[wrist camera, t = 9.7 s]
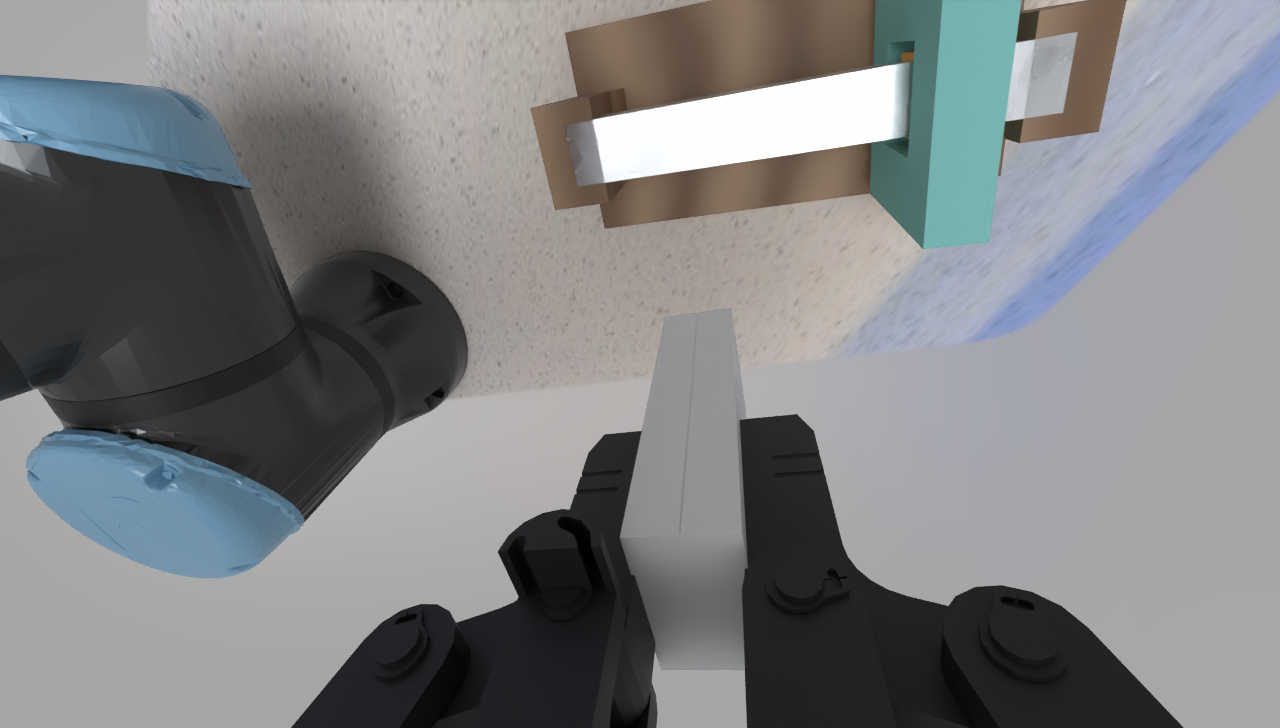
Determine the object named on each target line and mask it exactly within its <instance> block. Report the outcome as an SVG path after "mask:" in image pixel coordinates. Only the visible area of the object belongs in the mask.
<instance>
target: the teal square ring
mask: <svg viewBox="0 0 1280 728" xmlns="http://www.w3.org/2000/svg"><path fill="white" fill-rule="evenodd" d="M1021 1H1022V0H875V31H874V65H877V64H883V63H888V62H894V61H899V60H901V53H903V52H908V51H913V50H914V62H913V79H912V96H911V113H910V130H909V139H908V138H906V137H901V138H894V139H888V140H881V141H875V142H871V171H870V194H871V195H872V196H873V197H874V198H875V199H876V200H877V201H878V202H879V203H880V204H881V205H882V206H883V207H884V208H885V209H886V210H887V211H888V213H889V214H890V215H891V216H892V217H893V218H894V219H895V220H896V221H897V222H898V223H899V224H900V225H901V226H902V227H903V228H904V229H905V230H906V231H907V233H908V234H909V235H910V236H911V237H912V238H913V239H914V240H915V241H916V242H917V243H918V244H919V245H920V246H921V247H922V248H923V249H929V248H938V247H947V246H956V245H965V244H975V243H984V242H989V237H990V230H991V222H992V215H993V208H994V200H995V193H996V185H997V178H998V171H999V163H1000V156H1001V149H1002V141H1003V134H1004V126H1005V119H1006V112H1007V104H1008V97H1009V90H1010V82H1011V75H1012V67H1013V60H1014V53H1015V45H1016V38H1017V31H1018V23H1019V16H1020V8H1021Z"/></svg>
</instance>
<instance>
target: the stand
mask: <svg viewBox="0 0 1280 728" xmlns="http://www.w3.org/2000/svg"><path fill="white" fill-rule="evenodd" d="M1125 4H1126V0H1087V1H1081V2H1075V3H1068V4H1062V5H1056V6H1050V7H1044V8H1038V9H1032V10H1025V11H1023V7H1024V0H1022V1H1021V8H1020V16H1019V23H1018V31H1017V38H1016V41H1018V40H1039V39H1040V40H1041V38H1046V39H1047V37H1052V36H1053V37H1052V38H1053V39H1054V36H1057V35H1063V34H1068V33H1069V34H1071V33H1074V32H1076V33H1077V32H1078V33H1077V38H1076V37H1075V38H1076V41H1075V40H1073V42H1074V41H1075V43H1076V44H1075V49H1074V55H1073V60H1072V61H1071V62H1072V66H1071V71H1070V76H1069V82H1068V88H1067V94H1066V97H1065V98H1066V99H1065V105H1064V110H1063V111H1062V112H1063V113H1058V114H1056V113H1055V114H1051V115H1049V114H1048V115H1045V116H1038V117H1035V116H1034V117H1032V114H1031V117H1032V118H1028V117H1025V115H1024V117H1025V119H1019V120H1012V121H1005V126H1004V134H1003V141H1002V149H1001V156H1000V163H999V171H998V176H1000V174H1001V167H1002V160H1003V153H1004V145H1005V139H1008V140H1011V141H1015V142H1018V143H1024V142H1031V141H1038V140H1045V139H1052V138H1059V137H1066V136H1073V135H1079V134H1086V133H1093V132H1098V131H1099V127H1100V122H1101V117H1102V112H1103V108H1104V103H1105V98H1106V94H1107V89H1108V84H1109V80H1110V75H1111V70H1112V65H1113V61H1114V56H1115V51H1116V47H1117V42H1118V37H1119V32H1120V28H1121V23H1122V18H1123V14H1124V9H1125ZM874 31H875V0H712V1H707V2H703V3H698V4H694V5H689V6H685V7H680V8H676V9H671V10H667V11H662V12H658V13H653V14H649V15H644V16H640V17H635V18H631V19H626V20H622V21H617V22H612V23H608V24H603V25H599V26H594V27H590V28H585V29H581V30H576V31H572V32H567V33H565V35H566V40H567V45H568V50H569V55H570V60H571V65H572V70H573V75H574V80H575V85H576V89H577V94H578V97H575V98H571V99H566V100H562V101H558V102H554V103H550V104H546V105H542V106H538V107H534V108H531V112H532V117H533V121H534V125H535V129H536V133H537V137H538V141H539V145H540V149H541V154H542V158H543V162H544V166H545V170H546V174H547V178H548V182H549V186H550V191H551V195H552V199H553V203H554V207H555V210H560V209H567V208H574V207H581V206H588V205H595V204H600V207H601V212H602V217H603V222H604V227H605V228H613V227H620V226H628V225H635V224H643V223H650V222H658V221H665V220H673V219H680V218H688V217H695V216H703V215H710V214H718V213H725V212H733V211H740V210H748V209H755V208H763V207H770V206H778V205H785V204H793V203H800V202H808V201H815V200H823V199H830V198H838V197H845V196H853V195H860V194H868V193H870V171H871V142H868V143H862V144H855V145H849V146H842V147H836V148H829V149H823V150H816V151H810V152H803V153H797V154H790V155H783V156H777V157H770V158H764V159H757V160H751V161H744V162H738V163H731V164H725V165H718V166H712V167H705V168H699V169H692V170H686V171H679V172H672V173H666V174H659V175H653V176H646V177H640V178H633V179H627V180H620V181H614V182H607V183H601V184H596V183H595V182H594V181H599V180H598V178H597V180H596V178H595V179H594V178H593V176H595V174H596V173H593V172H594V171H593V172H591V171H590V172H591V173H593V174H594V175H592V174H591V176H592V178H593V179H591V177H590V178H589V179H591V181H593V180H594V181H593V182H592V183H591V184H589V182H588V184H589V185H588V184H587V183H586V182H587V181H586V180H585V179H584V178H583V177H582V176H580V175H582V173H584V172H585V171H586V170H585V168H583V170H582V171H584V170H585V171H584V172H578V170H577V172H578V174H579V175H578V174H577V173H576V174H577V175H578V176H580V177H582V179H583V180H582V181H581V183H582V182H585V181H586V182H585V183H586V184H587V185H588V186H582V184H583V183H582V184H578V185H577V182H576V179H577V177H578V176H575V173H574V171H575V170H574V169H578V168H577V167H579V169H580V165H581V164H583V165H584V163H581V162H580V165H578V166H576V168H574V167H575V165H574V164H572V160H574V159H573V158H575V157H574V156H576V155H575V154H576V152H575V151H576V150H575V149H576V148H578V147H577V145H578V144H580V146H581V145H582V144H581V143H582V141H581V140H583V139H584V137H583V136H582V137H583V139H581V140H580V139H579V138H578V140H580V141H581V143H580V142H579V141H578V140H577V139H576V138H575V137H574V135H573V136H572V135H571V133H572V132H571V130H570V133H569V132H568V134H570V136H571V137H572V138H573V137H574V139H576V140H572V138H571V137H570V138H571V140H570V139H569V140H567V138H568V137H569V136H568V137H567V135H568V134H567V135H566V133H567V131H568V130H569V129H568V130H566V126H568V124H569V126H570V124H572V126H571V127H572V131H573V129H574V128H573V126H574V127H575V125H573V123H576V125H577V126H578V129H579V127H580V125H582V126H584V127H586V126H587V122H586V121H590V120H593V119H596V118H598V117H601V116H603V115H605V114H609V113H615V112H620V111H626V110H631V109H637V108H642V107H648V106H653V105H659V104H664V103H670V102H675V101H681V100H686V99H692V98H697V97H702V96H708V95H713V94H719V93H724V92H730V91H735V90H741V89H746V88H752V87H757V86H763V85H768V84H774V83H779V82H784V81H790V80H795V79H801V78H806V77H812V76H817V75H823V74H828V73H834V72H839V71H845V70H850V69H856V68H861V67H867V66H872V65H874ZM1069 34H1068V35H1069ZM1070 36H1071V35H1070ZM1073 36H1074V35H1073ZM1064 37H1065V35H1064ZM1066 37H1068V36H1067V35H1066ZM1071 37H1072V36H1071ZM1061 38H1063V36H1061ZM1063 39H1064V38H1063ZM1051 40H1052V39H1051ZM1054 40H1055V39H1054ZM1060 40H1062V39H1060ZM1046 41H1047V40H1046ZM1046 41H1045V42H1046ZM1071 41H1072V40H1071ZM1071 41H1070V42H1071ZM1050 42H1051V41H1050ZM1054 42H1055V41H1054ZM1056 42H1057V40H1056ZM1048 43H1049V42H1048ZM1058 43H1059V42H1058ZM1067 43H1068V42H1067ZM1035 44H1036V41H1035ZM1039 44H1040V43H1039ZM1043 44H1044V43H1043ZM1043 44H1041V45H1043ZM1056 44H1057V43H1056ZM1059 44H1060V43H1059ZM1050 45H1051V43H1050ZM1054 45H1055V44H1054ZM1057 45H1058V44H1057ZM1057 45H1056V46H1057ZM1069 45H1070V43H1069ZM1069 45H1068V46H1069ZM1035 46H1036V45H1035ZM1052 46H1053V45H1052ZM1056 46H1055V49H1056ZM1060 46H1061V45H1060ZM1043 47H1044V45H1043ZM1066 47H1067V46H1066ZM1049 49H1050V48H1049ZM1052 49H1053V50H1054V48H1052ZM1052 49H1051V51H1052ZM1057 49H1058V48H1057ZM1064 49H1065V48H1064ZM1071 49H1072V47H1071ZM1035 50H1038V49H1037V48H1036V49H1035ZM1039 50H1040V49H1039ZM1039 50H1038V51H1039ZM1060 50H1061V49H1060ZM1058 51H1059V50H1058ZM1063 51H1064V50H1063ZM1071 51H1073V50H1071ZM1044 52H1045V51H1044ZM1065 52H1066V51H1065ZM1034 53H1035V51H1034ZM1034 53H1033V55H1034ZM1041 53H1042V52H1041ZM1045 53H1049V52H1048V51H1046V52H1045ZM1051 53H1052V52H1051ZM1053 53H1054V52H1053ZM1057 53H1059V52H1057ZM1060 53H1061V52H1060ZM1070 53H1071V52H1070ZM1055 54H1056V51H1055ZM1067 54H1069V53H1067ZM1043 55H1044V56H1045V54H1043ZM1040 56H1042V55H1040ZM1056 56H1057V54H1056ZM1058 56H1059V55H1058ZM1066 56H1068V55H1066ZM1038 57H1039V56H1038ZM1048 57H1049V55H1048ZM1063 57H1064V55H1063ZM1068 57H1069V56H1068ZM1040 58H1041V57H1040ZM1042 58H1043V57H1042ZM1049 58H1050V57H1049ZM1053 58H1054V57H1053ZM1038 59H1039V58H1038ZM1038 59H1036V60H1035V61H1036V62H1038ZM1044 59H1045V58H1044ZM1060 59H1061V58H1060ZM1032 60H1033V59H1032ZM1049 60H1050V59H1049ZM1049 60H1048V61H1047V62H1050V61H1051V60H1053V59H1051V60H1050V61H1049ZM1053 61H1054V60H1053ZM1057 61H1058V60H1057ZM1047 62H1045V63H1047ZM1058 62H1059V61H1058ZM1058 62H1057V63H1058ZM1069 62H1070V61H1069ZM1039 63H1040V62H1039ZM1040 64H1041V63H1040ZM1047 64H1048V63H1047ZM1055 64H1056V63H1055ZM1066 64H1067V62H1066ZM1070 64H1071V63H1070ZM1042 65H1043V64H1041V66H1042ZM1048 65H1049V64H1048ZM1058 65H1059V64H1058ZM1067 65H1069V64H1067ZM1031 66H1033V63H1032V65H1031ZM1036 66H1037V65H1036ZM1056 66H1057V65H1056ZM1059 66H1060V65H1059ZM1034 67H1035V66H1034ZM1043 67H1044V66H1043ZM1043 67H1042V68H1043ZM1054 67H1055V66H1054ZM1052 68H1053V67H1052ZM1064 68H1065V66H1064ZM1031 69H1032V68H1031ZM1037 69H1038V68H1037ZM1037 69H1036V70H1037ZM1040 69H1041V68H1040ZM1050 69H1051V68H1050ZM1051 70H1052V69H1051ZM1061 70H1062V67H1061ZM1031 71H1032V70H1031ZM1038 71H1039V70H1038ZM1038 71H1037V72H1038ZM1042 71H1043V70H1042ZM1048 71H1049V70H1048ZM1048 71H1047V72H1048ZM1055 71H1056V70H1055ZM1062 71H1065V69H1064V70H1062ZM1066 71H1068V70H1066ZM1033 72H1034V71H1033ZM1033 72H1032V73H1033ZM1035 73H1036V72H1035ZM1039 73H1040V72H1039ZM1042 73H1043V72H1042ZM1045 73H1046V72H1045ZM1048 73H1049V72H1048ZM1036 74H1037V73H1036ZM1056 74H1057V73H1056ZM1056 74H1055V75H1056ZM1062 74H1063V73H1062ZM1045 75H1046V74H1045ZM1051 75H1052V74H1051ZM1031 76H1032V74H1031ZM1042 76H1044V75H1042ZM1053 76H1054V75H1053ZM1056 76H1057V75H1056ZM1058 76H1059V75H1058ZM1033 77H1034V75H1033ZM1039 77H1041V76H1039ZM1039 77H1038V78H1039ZM1044 77H1045V76H1044ZM1067 77H1068V76H1067ZM1034 78H1035V77H1034ZM1047 78H1048V77H1047ZM1058 78H1059V77H1058ZM1029 79H1030V78H1029ZM1039 79H1040V78H1039ZM1039 79H1038V81H1043V80H1039ZM1060 79H1061V77H1060ZM1046 80H1047V79H1046ZM1061 80H1062V79H1061ZM1034 81H1036V80H1034ZM1032 82H1033V81H1032ZM1036 82H1037V81H1036ZM1044 82H1045V81H1044ZM1046 82H1049V81H1046ZM1056 82H1057V81H1056ZM1050 83H1051V82H1050ZM1037 84H1038V82H1037ZM1048 84H1049V83H1048ZM1030 85H1031V83H1030ZM1035 85H1036V84H1035ZM1040 85H1041V84H1040ZM1045 85H1046V84H1045ZM1056 85H1057V84H1056ZM1028 86H1029V85H1028ZM1038 86H1039V85H1038ZM1050 86H1051V85H1050ZM1054 86H1055V85H1054ZM1057 86H1058V85H1057ZM1042 87H1043V86H1042ZM1052 87H1053V86H1052ZM1059 87H1060V86H1059ZM1030 88H1031V87H1030ZM1033 88H1034V87H1033ZM1040 88H1041V87H1040ZM1040 88H1039V89H1040ZM1039 89H1037V90H1038V91H1036V92H1040V91H1039ZM1028 90H1029V88H1028ZM1046 90H1047V89H1046ZM1051 90H1054V89H1051ZM1058 90H1059V89H1058ZM1058 90H1057V91H1058ZM1048 91H1049V90H1048ZM1055 91H1056V90H1055ZM1030 92H1034V91H1030ZM1053 93H1054V92H1053ZM1059 93H1060V92H1059ZM1039 94H1040V93H1039ZM1047 94H1048V93H1047ZM1062 94H1064V93H1063V92H1062ZM1033 96H1034V95H1033ZM1042 96H1043V95H1042ZM1051 96H1052V95H1051ZM1053 96H1054V95H1053ZM1027 97H1028V96H1027ZM1031 97H1032V94H1031ZM1034 97H1036V98H1037V96H1034ZM1043 98H1044V97H1043ZM1027 99H1028V98H1027ZM1029 99H1030V97H1029ZM1038 99H1039V98H1038ZM1040 99H1042V98H1040ZM1044 99H1045V98H1044ZM1051 99H1052V98H1051ZM1032 100H1033V99H1032ZM1034 100H1035V99H1034ZM1052 100H1053V99H1052ZM1060 100H1061V99H1060ZM1027 101H1028V100H1027ZM1045 102H1046V101H1045ZM1050 102H1051V101H1050ZM1056 102H1057V101H1056ZM1027 104H1028V103H1027ZM1030 104H1031V102H1030ZM1035 104H1036V103H1035ZM1039 104H1040V103H1039ZM1042 104H1043V103H1042ZM1031 105H1032V106H1033V104H1031ZM1030 107H1031V106H1030ZM1041 107H1042V106H1041ZM1041 107H1040V108H1041ZM1046 107H1047V106H1046ZM1048 107H1049V106H1048ZM1027 108H1028V107H1027ZM1027 108H1026V109H1027ZM1031 108H1033V107H1031ZM1050 109H1052V108H1051V107H1050ZM1033 110H1034V109H1033ZM1060 110H1061V109H1060ZM1026 111H1027V110H1026ZM1044 111H1045V109H1044ZM1053 111H1054V110H1053ZM1055 111H1056V110H1055ZM1028 112H1029V110H1028ZM1031 112H1032V110H1031ZM1060 112H1061V111H1060ZM1050 113H1051V112H1050ZM1024 114H1026V113H1024ZM1033 114H1034V113H1033ZM1044 114H1045V113H1044ZM1038 115H1039V113H1038ZM1040 115H1041V114H1040ZM1029 116H1030V115H1029ZM584 121H585V122H586V123H585V122H584ZM580 122H581V123H580ZM582 122H583V124H582ZM577 123H579V124H580V125H579V124H577ZM592 123H593V122H592V121H591V124H592ZM585 124H586V126H585ZM591 124H590V123H589V125H591ZM564 125H566V126H565V127H564ZM592 125H593V124H592ZM592 125H591V126H592ZM582 126H581V128H582ZM591 126H589V128H590V127H591ZM571 127H570V129H571ZM593 127H594V126H593ZM567 128H568V127H567ZM575 128H576V129H574V130H575V131H573V133H572V134H574V133H575V134H576V130H577V132H579V131H578V129H577V127H575ZM582 129H584V128H582ZM585 129H586V130H587V129H588V127H587V128H585ZM590 129H591V128H590ZM590 129H588V130H589V133H591V132H590ZM592 129H593V128H592ZM592 129H591V130H592ZM565 130H566V132H565ZM580 130H581V129H580ZM586 130H582V132H583V131H585V132H586ZM592 131H593V130H592ZM585 132H584V133H581V132H580V135H581V134H583V135H585ZM594 132H595V128H594ZM594 132H592V133H593V134H592V133H591V134H592V135H591V134H590V135H589V134H588V136H587V137H588V139H589V138H590V137H589V136H593V135H594ZM586 134H587V133H586ZM578 135H579V134H578ZM578 135H576V137H578ZM595 135H596V133H595ZM579 137H580V136H579ZM585 137H586V136H585ZM595 137H596V136H595ZM580 138H581V137H580ZM591 139H592V140H593V139H594V136H593V137H591V138H590V139H589V140H591ZM586 140H587V138H586ZM592 140H591V141H592ZM595 140H596V139H595ZM595 140H594V141H595ZM568 141H571V142H569V144H571V143H572V147H573V142H574V141H575V142H576V141H578V142H579V143H578V144H577V142H576V144H577V145H576V148H575V146H574V148H575V149H574V152H575V154H574V153H573V148H572V147H570V148H569V146H571V145H569V144H568ZM572 141H573V142H572ZM584 141H585V139H584V140H583V143H584ZM587 141H588V140H587ZM585 142H586V141H585ZM586 143H587V142H586ZM588 143H590V142H588ZM591 143H593V144H594V142H593V141H592V142H591ZM595 143H597V142H595ZM584 144H585V143H584ZM568 145H569V146H568ZM574 145H575V143H574ZM589 145H590V144H589ZM578 146H579V145H578ZM580 146H579V147H580ZM590 146H593V145H590ZM590 146H589V147H588V145H587V147H588V148H590ZM595 146H596V147H597V145H596V144H595V145H594V147H595ZM582 147H584V146H581V148H582ZM584 148H586V147H584ZM569 149H570V150H569ZM571 149H572V153H573V154H574V155H573V156H572V157H573V158H572V157H571V155H572V154H571ZM598 149H599V148H598ZM598 149H597V150H598ZM577 150H578V149H577ZM581 150H582V151H583V153H584V152H585V149H584V150H583V149H581ZM581 150H578V151H579V154H580V155H583V154H581V153H582V152H581V153H580V151H581ZM586 150H587V148H586ZM578 151H577V156H579V154H578ZM588 151H590V150H589V149H588ZM588 151H586V152H588ZM591 151H593V152H591ZM591 151H590V152H591V153H592V154H593V153H595V151H596V150H595V149H593V150H591ZM598 151H599V150H598ZM598 151H596V152H597V153H599V152H598ZM586 152H585V154H587V153H586ZM585 154H584V155H585ZM590 155H591V154H589V153H588V156H589V157H591V156H590ZM593 155H594V154H593ZM593 155H592V157H593ZM595 155H596V154H595ZM577 156H576V158H577V159H576V158H575V160H578V159H579V157H580V156H579V157H577ZM597 156H598V154H597ZM599 156H600V155H599ZM582 157H584V156H582ZM589 157H587V158H588V159H589ZM580 158H581V157H580ZM597 158H598V157H597ZM582 159H583V158H582ZM593 159H594V158H593ZM595 159H596V157H595ZM598 159H599V158H598ZM580 160H581V159H580ZM584 160H586V157H585V158H584ZM591 161H593V163H594V160H591ZM596 161H597V159H596V160H595V162H596ZM600 161H601V160H600ZM582 162H583V161H582ZM585 162H586V161H585ZM588 162H589V160H588ZM588 162H587V165H589V164H588ZM598 162H599V160H598ZM573 163H575V161H574V162H573ZM590 163H591V165H593V164H592V162H590ZM575 164H577V161H576V163H575ZM578 164H579V160H578ZM594 164H595V163H594ZM596 164H597V163H596ZM596 164H595V165H596ZM600 164H601V163H600ZM573 165H574V167H573ZM587 165H586V166H587ZM598 165H599V164H598ZM584 166H585V165H584ZM599 166H600V167H601V166H602V165H599ZM581 167H582V166H581ZM588 167H589V166H588ZM590 167H591V166H590ZM593 167H594V170H595V168H596V170H597V169H599V168H600V167H599V168H598V167H597V165H596V167H595V166H593ZM590 169H592V168H590ZM601 169H602V167H601ZM587 170H589V168H588V169H587ZM592 170H593V169H592ZM599 170H600V169H599ZM579 171H580V170H579ZM575 172H576V171H575ZM586 172H587V171H586ZM588 172H589V171H588ZM580 173H581V174H580ZM597 173H598V171H597ZM586 174H587V173H586ZM586 174H585V175H586ZM599 174H600V173H599ZM599 174H597V175H598V176H599V177H600V178H602V177H601V176H600V175H599ZM601 174H602V175H603V173H601ZM588 176H589V175H588ZM595 177H596V176H595ZM603 177H604V176H603ZM587 178H588V177H587ZM587 178H586V179H587ZM578 179H579V177H578ZM601 180H603V179H601ZM604 180H605V179H604ZM578 181H579V180H578ZM602 182H603V181H602ZM578 183H579V182H578ZM593 183H595V184H593ZM597 183H598V182H597ZM592 184H593V185H592ZM579 185H581V187H580V186H579Z"/></svg>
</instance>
